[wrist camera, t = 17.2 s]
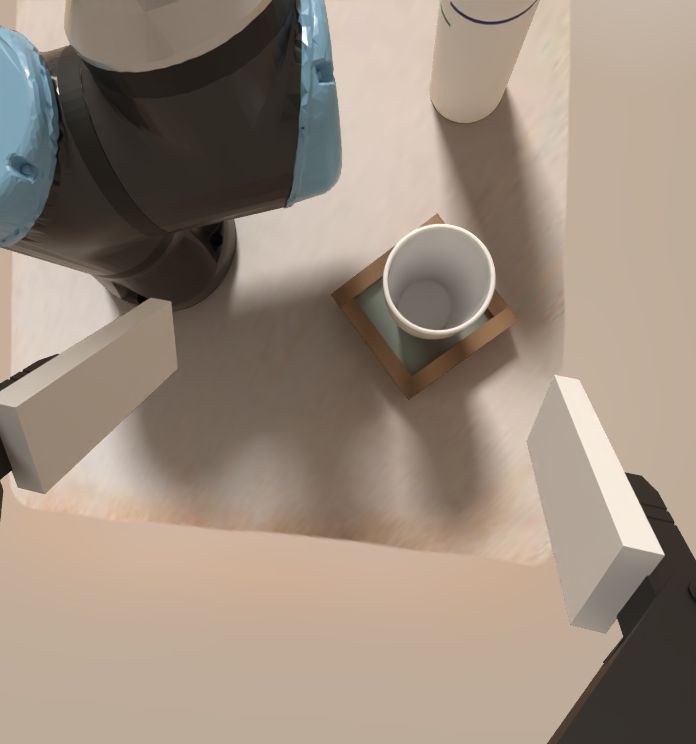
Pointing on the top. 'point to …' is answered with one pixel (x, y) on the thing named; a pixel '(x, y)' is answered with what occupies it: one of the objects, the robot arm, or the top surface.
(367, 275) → the wooden tray
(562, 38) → the top surface
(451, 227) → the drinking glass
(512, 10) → the cylindrical container
